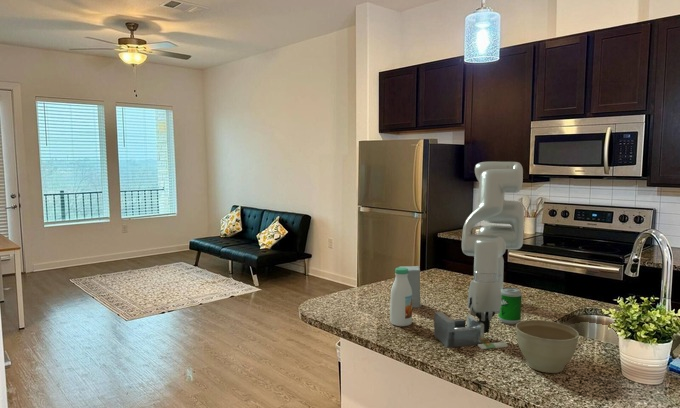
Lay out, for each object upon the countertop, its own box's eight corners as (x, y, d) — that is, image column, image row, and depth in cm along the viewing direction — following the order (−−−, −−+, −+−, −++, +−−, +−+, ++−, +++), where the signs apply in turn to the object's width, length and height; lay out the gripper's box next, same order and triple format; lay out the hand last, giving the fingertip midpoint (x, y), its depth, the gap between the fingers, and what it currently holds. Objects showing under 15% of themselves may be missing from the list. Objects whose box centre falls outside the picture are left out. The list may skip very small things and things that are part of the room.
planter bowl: (590, 375, 124) (592, 336, 123) (541, 383, 120) (542, 343, 119) (548, 351, 140) (549, 317, 139) (502, 358, 135) (504, 322, 134)
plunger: (469, 332, 155) (470, 315, 154) (490, 347, 142) (491, 328, 141) (444, 334, 153) (445, 317, 152) (463, 350, 140) (463, 331, 140)
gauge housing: (462, 333, 155) (463, 310, 154) (477, 344, 145) (478, 320, 144) (434, 335, 153) (434, 312, 152) (447, 347, 143) (447, 322, 142)
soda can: (520, 319, 169) (521, 287, 167) (521, 326, 161) (522, 293, 160) (498, 317, 171) (499, 285, 170) (498, 323, 164) (499, 291, 163)
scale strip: (503, 343, 146) (503, 341, 146) (508, 346, 143) (508, 344, 143) (477, 346, 144) (477, 344, 144) (481, 349, 142) (481, 347, 142)
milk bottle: (398, 328, 160) (398, 271, 158) (386, 321, 167) (386, 267, 165) (416, 324, 163) (417, 269, 161) (403, 318, 170) (404, 265, 168)
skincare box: (419, 303, 188) (419, 265, 186) (420, 309, 181) (421, 269, 179) (398, 302, 188) (399, 265, 187) (399, 308, 181) (399, 269, 180)
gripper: (500, 272, 154) (498, 325, 156) (459, 275, 151) (457, 329, 153) (512, 278, 147) (511, 333, 149) (470, 280, 144) (468, 337, 146)
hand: (484, 331), depth 151 cm, fingers closed
